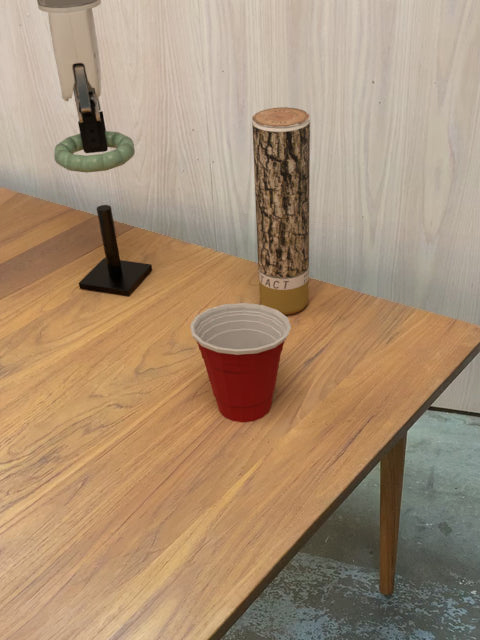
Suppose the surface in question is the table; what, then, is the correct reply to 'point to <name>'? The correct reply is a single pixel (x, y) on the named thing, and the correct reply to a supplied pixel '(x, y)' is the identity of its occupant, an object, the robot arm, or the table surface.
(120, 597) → the table surface
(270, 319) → the plastic cup
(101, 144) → the robot arm
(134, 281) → the ring stand
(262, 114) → the paper tube
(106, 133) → the ring
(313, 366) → the table surface
